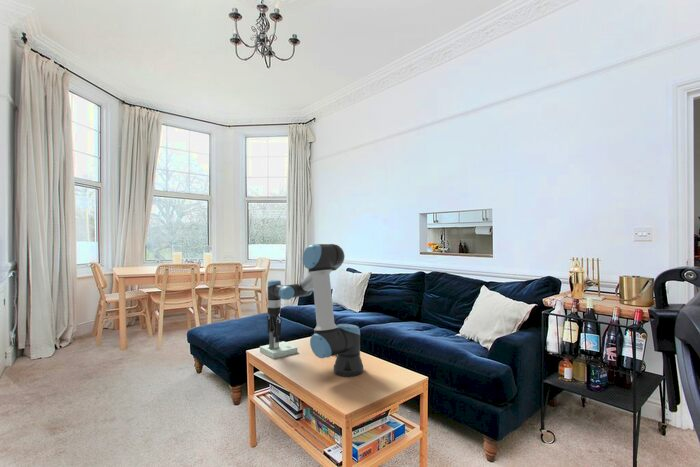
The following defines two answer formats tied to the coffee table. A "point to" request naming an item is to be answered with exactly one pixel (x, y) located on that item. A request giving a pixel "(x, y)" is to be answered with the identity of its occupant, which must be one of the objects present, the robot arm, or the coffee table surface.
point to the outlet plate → (279, 350)
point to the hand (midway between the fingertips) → (274, 346)
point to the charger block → (272, 340)
